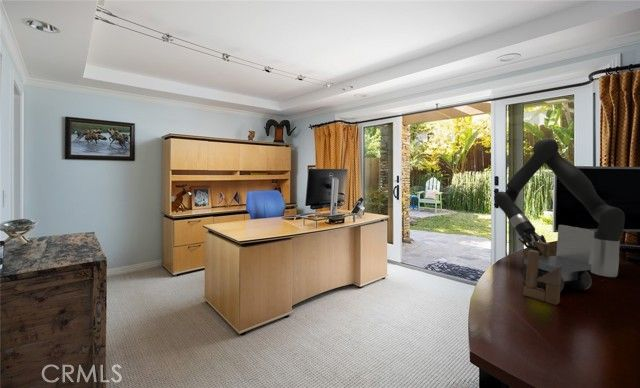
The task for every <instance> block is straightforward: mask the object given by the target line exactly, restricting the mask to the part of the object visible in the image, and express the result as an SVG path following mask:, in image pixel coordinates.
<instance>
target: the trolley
mask: <svg viewBox="0 0 640 388" xmlns="http://www.w3.org/2000/svg"><path fill="white" fill-rule="evenodd" d="M557 229H558V230H557V240H556V241H557V242H556V243H557V244H556V253H555V254H556V255H549V256H546V257H539V264H538V278H540V277H542V276H543V275H545V274H547V273H549V272H551V271H553V270H554V269H556V268H558V267H560V266H562V275H561V284H560V285H561V288H560V293H561V292H562V291H563V289H564V287H565V284H567V285H568V286H569V287H570V288H572V289H574V290H576V291H584V290H587V289H590V287H591V286H592V283H593V280H592V276H591V274H590V273H589V272H588V271H591V267H592V255H593V243H594V233H595V230H594V229H588V228H583V227H577V226H571V225H565V224H558V227H557ZM523 264H524V265H526V266H524V268H523V269H522V278H523V280H524V281H525V282H526V272H527V257H523ZM538 278H537V279H538ZM546 284H547V283H543V282H539V281H537V288H539V287H540V288H541V289H543V290H545V291H546Z"/></svg>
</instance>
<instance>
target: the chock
mask: <svg viewBox="0 0 640 388" xmlns="http://www.w3.org/2000/svg"><path fill="white" fill-rule="evenodd" d="M535 244H536V246H537V247H538V249H539V250H540V252H541V253H542V255H540V256H539V257H546V256H550V254H549V253H551V251H550V248H551V243H548V242H547V243H544V242H539V241H538V242H535Z"/></svg>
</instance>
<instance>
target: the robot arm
mask: <svg viewBox="0 0 640 388" xmlns="http://www.w3.org/2000/svg"><path fill="white" fill-rule="evenodd" d="M559 146H560V145H559V143H558V142H557V141H556V140H554V139H552V138H545V139H542V140H538V141H537V142H536V143H535V144H534V145H533V147H532V152H533V154H532V156H531V157H529V160H527V161H526V163H525V164H524V165H523V166H522V167H521V168H520V169H519V170H518V171H517V172H515V174H513V176H512V177H511V179H510V180H509V181H508V183H506V191H498V192H496V193H495V194H494V197H493V199H494V203H495V204H496V206H498V208H500V209H501V210H502V212H503V213H504V214H505V216H506V217H507V219H508V220H509V222H510V224H511V226H512V227H513V228H514V230H515V232H516V233H517V235H518V236H520V237H518V240H519V242H521V243H522V244H523V245H524V246H525V248H527V249H528V250H536V251H539V256H540V255H542V253H541V252H540V250H539V249H538V247H537V246H536V244H535V242H538V241H539V242H544V243H548V242H547V240H546V238H545V236H544V235H543V234H541V235H539V234H538V233H537V232H536V228H535V226H534V225H533V223H532V222H531V221H530V220H529V219H530V218H528V216H526V215H525V214H524V212H523V211H522V209H520V207H519V206H517V204H515V202H516V200H517V198H518V197H519V194H520V192H521V191H522V190H523V188H524V187H525V186H526V185H527V184H528V183H529V181H530V180H531V179H532V178H533V177H534V175H535V174H536V173H537V172H538V171H539V170H540V168H541V167H543V165H546V166H547V167H548V168H549V169H550V170H551V172H553V173H554V175H555V176H556V178H557V179H558V180H559V181H560V182H561V184H562V185H564V186H565V188H566V189H567V191H569V192H570V193H571V194H572V195H573V197H575V198H576V199H577V200H578V201H579V202H581V204H582V205H583V206H584V208H585V209H586V210H587V211H588V213H589V215H591V217H592V219H594V221H596V222H597V223H598V227H597V230H596V231H594V243H593V255H592V267H591V270H590V273H591V274H595V275H597V276H602V277H608V278H616V277H617V276H618V275H619V263H620V255H619V254H620V244H621V243H620V241H621V237H622V236H623V234H624V229H625V221H626V215H625V213H624V211H623V210H622V209H620V208H618V207H616V206H611V205H609V204H607V203H606V201H604V200H603V199H602V198H601V197H600V196H599V194H597V191H596V189H595V187H594V185H593V183H592V181H591V180H590V179H589V178H588V177H587V175H586V174H585V173H584V172H583V171H582V170H580V169H579V168H578V167H577V166H576V165H574V164H572V163H571V162H569V161H568V160H567V159H566V158H564V157H563V156H562V155H561V154H560V152H559V149H560V147H559ZM550 253H551V252H549V255H550Z"/></svg>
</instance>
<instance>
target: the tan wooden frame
mask: <svg viewBox="0 0 640 388" xmlns="http://www.w3.org/2000/svg"><path fill="white" fill-rule="evenodd" d="M526 258H527V264H526V266H527V272H526V281H525V285H524V286H523V289H522V290H523V291H522V292H523V293H522V295H523V296H524V297H527V298H531V299H535V300H537V301H542V302H545V303H547V304H551V305H553V306H557V305H558V304H560V297H561V292H560V288H561V285H560V284H561V275H562V266H560V267H558V268H556V269H554V270H553V271H551V272H549V273H547V274H545V275H543V276H542V277H540V278H538V264H539V251H536V250H532V249H528V250H527V257H526ZM537 278H538V279H537ZM537 281H539V282H543V283H547V284H546V291H545V290H543V289H542V288H541V287H537Z"/></svg>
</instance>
